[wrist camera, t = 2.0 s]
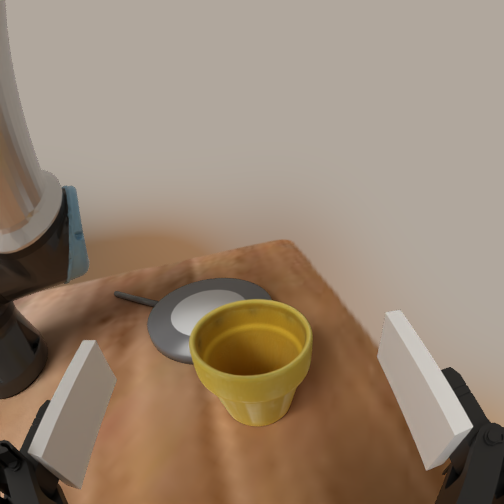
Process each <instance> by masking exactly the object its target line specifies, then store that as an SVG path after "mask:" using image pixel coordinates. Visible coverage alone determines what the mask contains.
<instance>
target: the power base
mask: <svg viewBox="0 0 504 504" xmlns="http://www.w3.org/2000/svg"><path fill="white" fill-rule="evenodd" d="M114 295H115V296H116V297H119V298H123V299H127V300H130V301H134V302H138V303H141V304H145V305H149V306H153V307H154V308H153V309H152V311H151V313H150V315H149V318H148V323H147V325H148V331H149V335H150V337H151V340H152V342H153V344H154V346H155V347H156V348H157V350H158V351H159V352H161V353H162V354H163V355H165V356H166V357H168V358H170V359H172V360H175V361H178V362H181V363H186V364H193V361H192V357H191V354H190V349H189V338H190V334H191V332H192V330H193V328H194V326H195V325H196V324H197V322H198V321H199V320H200V319H201V318H202V317H203V316H205V315H206V314H207V313H209V312H210V311H212V310H214V309H216V308H218V307H220V306H222V305H225V304H228V303H232V302H236V301H241V300H248V299H265V300H272V299H271V297H270V296H269V294H268V293H267V292H266V291H265V290H264V289H263V288H261V287H260V286H258V285H256V284H254V283H251V282H248V281H245V280H240V279H232V278H215V279H207V280H202V281H198V282H194V283H191V284H188V285H185V286H183V287H180V288H178V289H176V290H174V291H172V292H171V293H169V294H168V295H166V296H165V297H164V298H162V299H161V300H160V301H159V302H158V301H154V300H150V299H146V298H142V297H138V296H134V295H130V294H126V293H122V292H119V291H115V292H114Z"/></svg>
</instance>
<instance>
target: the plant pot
mask: <svg viewBox="0 0 504 504" xmlns="http://www.w3.org/2000/svg"><path fill="white" fill-rule="evenodd" d="M312 338H313V336H312V330H311V326H310V324H309V322H308V321H307V319H306V318H305V317H304V316H303V315H302V314H301V313H300V312H299V311H298V310H296V309H295V308H293V307H291V306H289V305H287V304H284V303H281V302H277V301H273V300H265V299H248V300H241V301H236V302H232V303H228V304H225V305H222V306H220V307H218V308H216V309H214V310H212V311H210V312H209V313H207V314H206V315H205V316H203V317H202V318H201V319H200V320H199V321H198V322H197V324H196V325H195V326H194V328H193V330H192V332H191V334H190V338H189V349H190V354H191V357H192V361H193V364H194V367H195V369H196V372H197V374H198V377H199V379H200V380H201V382H202V383H203V385H204V386H205V387H206V388H207V389H208V390H209V391H211V392H212V393H213V394H215V395H217V396H218V398H219V399H220V401H221V402H222V403H223V405H224V406H225V408H226V409H227V411H228V412H229V413H230V415H231V416H232V417H233V418H234V419H235V420H237V421H238V422H240V423H242V424H245V425H249V426H265V425H269V424H272V423H274V422H276V421H278V420H279V419H280V418H282V417H283V416H284V415H285V414H286V412H287V411H288V409H289V407H290V404H291V402H292V399H293V396H294V393H295V391H296V388H297V386H298V385H299V384H300V383H301V382H302V381H303V379H304V378H305V376H306V375H307V373H308V370H309V367H310V362H311V355H312Z"/></svg>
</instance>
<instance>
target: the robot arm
mask: <svg viewBox="0 0 504 504" xmlns="http://www.w3.org/2000/svg"><path fill="white" fill-rule="evenodd" d="M88 268H89V259H88V255H87V250H86V245H85V240H84V236H83V230H82V224H81V219H80V212H79V206H78V199H77V192H76V189H75V187H73V186H63V187H62V188H61V185H60V183H59V181H58V179H57V178H56V177H55V176H54V175H53V174H52V173H50V172H48V171H45V170H41V168H40V166H39V163H38V160H37V157H36V154H35V151H34V148H33V145H32V141H31V138H30V135H29V132H28V128H27V125H26V121H25V118H24V114H23V110H22V106H21V103H20V98H19V94H18V90H17V85H16V81H15V75H14V70H13V64H12V59H11V52H10V46H9V38H8V30H7V19H6V5H5V0H0V399H1V398H7V397H10V396H13V395H15V394H17V393H19V392H20V391H22V390H23V389H25V388H26V387H27V386H29V385H30V384H31V383H32V382H33V381H34V380H35V379H36V377H37V376H38V375H39V374H40V372H41V371H42V369H43V367H44V365H45V363H46V360H47V356H48V348H47V345H46V343H45V341H44V339H43V338H42V336H41V334H40V333H39V331H38V330H37V329H36V328H35V327H34V326H33V325H32V324H31V323H30V322H29V321H28V320H27V319H26V318H25V317H24V316H23V315H22V314H21V313H20V312H19V311H18V310H17V309H16V307H15V305H14V303H13V301H14V300H17V299H20V298H22V297H25V296H28V295H31V294H34V293H36V292H39V291H42V290H45V289H48V288H51V287H54V286H57V285H60V284H63V283H64V284H66V283H69V282H70V280H73V279H75V278H78V277H80V276H82V275H84V274H85V273H86V272H87V271H88ZM377 358H378V360H379V362H380V364H381V366H382V369H383V371H384V373H385V375H386V377H387V379H388V381H389V384H390V386H391V388H392V390H393V392H394V395H395V397H396V399H397V401H398V403H399V406H400V408H401V410H402V413H403V415H404V417H405V420H406V422H407V424H408V427H409V429H410V431H411V434H412V436H413V439H414V441H415V443H416V446H417V448H418V451H419V453H420V456H421V458H422V461H423V464H424V466H425V469H426V471H427V470H430V469H432V468H434V467H437V466H439V465H441V464H443V463H444V462H445V461H446V460H447V459H448V458H450V460H451V462H452V463H451V464H450V465H449V466H448V467H447V468H446V469H445V470H444V472H443V473H442V475H445V474H446V473H447V474H446V477H445V480H444V482H443V485H442V487H441V490H440V492H439V495H438V497H437V500H436V502H435V504H504V427H501V426H500V425H499V424H496V423H491V422H490V421H489V420H488V419H487V417H486V416H485V414H484V412H483V410H482V409H481V407H480V405H479V404H478V402H477V400H476V399H475V397H474V396H473V394H472V393H471V391H470V389H469V388H468V386H466V383H465V381H464V380H463V378H462V377H461V375H460V374H459V373H458V372H457V371H455V370H454V369H453V368H451V367H449V368H446V369H443V370H440V369H439V367H438V365H437V364H436V362H435V360H434V359H433V357H432V356H431V354H430V353H429V351H428V350H427V348H426V347H425V345H424V343H423V342H422V341H421V339H420V337H419V336H418V334H417V333H416V331H415V330H414V329H413V327H412V326H411V324H410V323H409V321H408V320H407V318H406V317H405V316H404V314H403V313H402V311H401V310H396V311H391V312H386V313H385V318H384V324H383V329H382V335H381V340H380V345H379V350H378V355H377ZM116 381H117V379H116V377H115V376H114V374H113V372H112V370H111V368H110V367H109V365H108V363H107V361H106V359H105V357H104V355H103V353H102V351H101V350H100V348H99V346H98V344H97V342H96V340H83V342H82V343H81V345H80V347H79V349H78V350H77V352H76V354H75V356H74V357H73V359H72V361H71V363H70V365H69V367H68V368H67V370H66V372H65V374H64V376H63V378H62V380H61V382H60V384H59V386H58V388H57V390H56V391H55V393H54V395H53V397H52V399H51V401H50V400H47V401H46V402H45V403H44V404H43V405H42V406H41V407H40V408H39V410H38V413H37V415H36V418H35V419H34V421H33V423H32V425H31V427H30V429H29V432H28V434H27V436H26V438H25V440H24V443H23V445H22V447H21V449H20V451H18V450H17V449H16V448H15V447H14V446H13V445H12V444H11V443H10V442H9V441H6V440H3V441H0V491H1V492H2V493H4V498H2V497H0V504H68V502H67V500H66V498H65V496H64V493H63V491H62V488H61V487H60V485H59V484H58V481H59V480H61V481H62V482H63V483H65V484H66V485H68V486H71V487H75V488H78V489H81V487H82V484H83V480H84V477H85V473H86V470H87V467H88V463H89V460H90V457H91V453H92V450H93V447H94V444H95V441H96V438H97V435H98V432H99V429H100V426H101V423H102V420H103V417H104V414H105V411H106V408H107V406H108V403H109V400H110V397H111V395H112V392H113V389H114V386H115V384H116Z"/></svg>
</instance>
